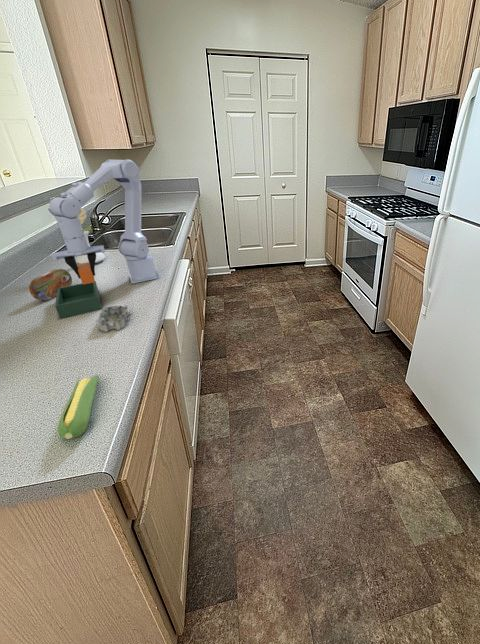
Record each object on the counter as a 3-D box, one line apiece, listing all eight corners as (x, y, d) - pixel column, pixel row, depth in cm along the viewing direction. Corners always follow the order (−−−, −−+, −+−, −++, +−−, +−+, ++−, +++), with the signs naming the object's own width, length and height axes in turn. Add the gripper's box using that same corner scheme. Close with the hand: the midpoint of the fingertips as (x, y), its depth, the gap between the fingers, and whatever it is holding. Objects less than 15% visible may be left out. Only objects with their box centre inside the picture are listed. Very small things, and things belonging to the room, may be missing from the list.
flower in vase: (72, 263, 148) (52, 207, 137) (97, 256, 157) (80, 202, 146) (88, 269, 142) (68, 210, 131) (113, 261, 151) (97, 205, 139)
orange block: (94, 275, 115) (89, 261, 113) (94, 282, 110) (90, 268, 108) (82, 277, 114) (77, 264, 112) (82, 284, 108) (77, 270, 106)
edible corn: (57, 449, 62) (48, 432, 60) (81, 381, 78) (75, 365, 76) (88, 441, 63) (80, 424, 61) (105, 375, 80) (100, 360, 78)
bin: (99, 291, 122) (95, 280, 120) (101, 308, 110) (97, 296, 108) (61, 299, 117) (57, 288, 115) (60, 318, 105) (55, 306, 103)
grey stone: (124, 329, 99) (121, 317, 97) (96, 333, 97) (92, 321, 95) (131, 312, 108) (128, 301, 106) (106, 315, 106) (102, 304, 104)
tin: (40, 304, 114) (31, 282, 110) (33, 303, 115) (23, 281, 111) (75, 286, 127) (68, 265, 123) (68, 285, 128) (60, 265, 124)
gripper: (45, 243, 99) (61, 285, 105) (100, 235, 105) (112, 275, 111) (47, 238, 104) (61, 277, 110) (99, 230, 111) (110, 268, 117)
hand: (87, 276), depth 111 cm, fingers closed on orange block, 3 cm apart
